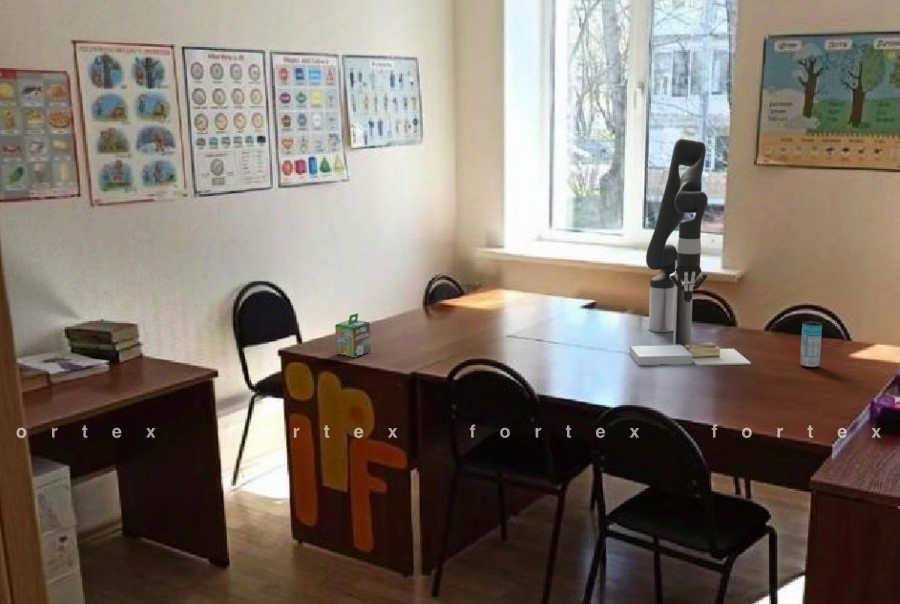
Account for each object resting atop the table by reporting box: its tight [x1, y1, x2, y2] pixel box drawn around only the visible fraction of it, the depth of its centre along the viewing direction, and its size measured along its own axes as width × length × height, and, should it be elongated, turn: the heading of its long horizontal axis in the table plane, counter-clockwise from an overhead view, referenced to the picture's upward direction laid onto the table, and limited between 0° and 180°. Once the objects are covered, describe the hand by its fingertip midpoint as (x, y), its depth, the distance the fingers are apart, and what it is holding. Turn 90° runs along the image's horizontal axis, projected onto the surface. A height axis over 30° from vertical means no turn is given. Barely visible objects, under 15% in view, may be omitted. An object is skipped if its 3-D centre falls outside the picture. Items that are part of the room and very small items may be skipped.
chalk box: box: [334, 313, 371, 356], centre depth 317 cm, size 9×9×15 cm
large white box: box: [629, 343, 693, 366], centre depth 303 cm, size 14×18×3 cm
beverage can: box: [799, 319, 823, 369], centre depth 288 cm, size 6×6×15 cm
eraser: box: [684, 342, 721, 359], centre depth 303 cm, size 6×10×4 cm, turn 96°
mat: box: [692, 348, 752, 367], centre depth 303 cm, size 18×18×1 cm
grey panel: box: [672, 260, 694, 348], centre depth 317 cm, size 14×6×30 cm, turn 168°
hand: (687, 301), depth 300 cm, fingers closed
